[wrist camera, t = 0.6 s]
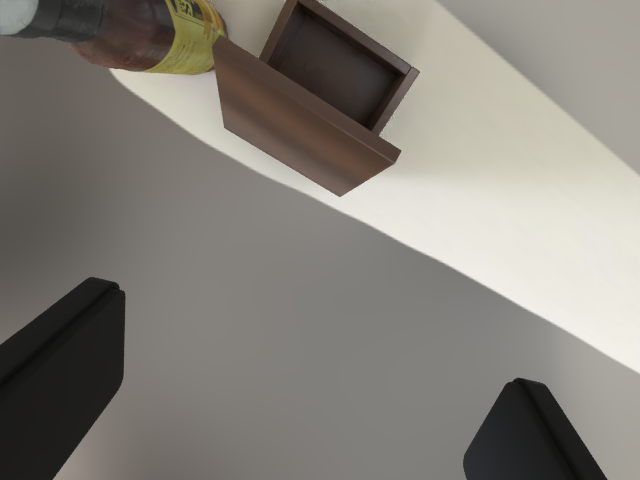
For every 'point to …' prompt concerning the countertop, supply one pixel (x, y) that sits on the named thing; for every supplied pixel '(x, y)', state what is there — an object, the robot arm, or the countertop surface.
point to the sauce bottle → (123, 31)
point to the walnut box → (338, 63)
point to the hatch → (295, 123)
